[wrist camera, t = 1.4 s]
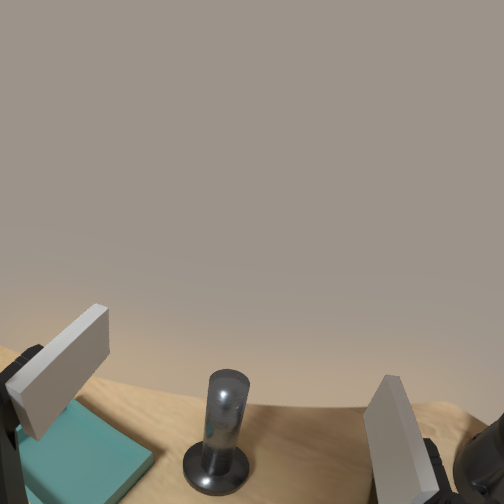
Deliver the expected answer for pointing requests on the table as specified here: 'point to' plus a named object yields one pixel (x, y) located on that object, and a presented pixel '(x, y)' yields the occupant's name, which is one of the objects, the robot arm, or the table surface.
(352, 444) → the table surface
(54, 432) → the tray
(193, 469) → the joystick
